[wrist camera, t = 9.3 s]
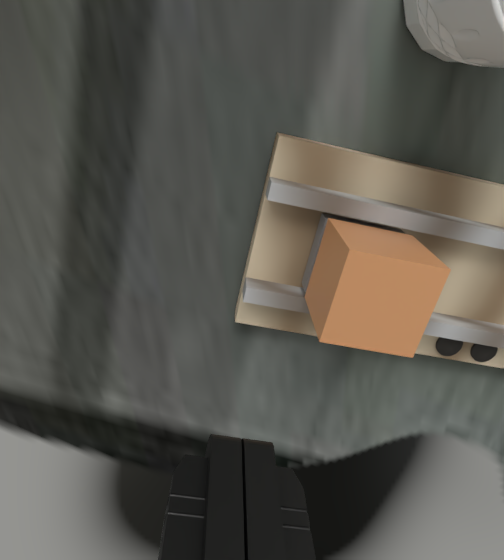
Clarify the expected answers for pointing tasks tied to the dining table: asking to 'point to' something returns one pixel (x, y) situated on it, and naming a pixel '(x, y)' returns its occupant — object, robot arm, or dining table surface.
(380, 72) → the dining table surface
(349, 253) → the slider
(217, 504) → the robot arm
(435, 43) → the white cup
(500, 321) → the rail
